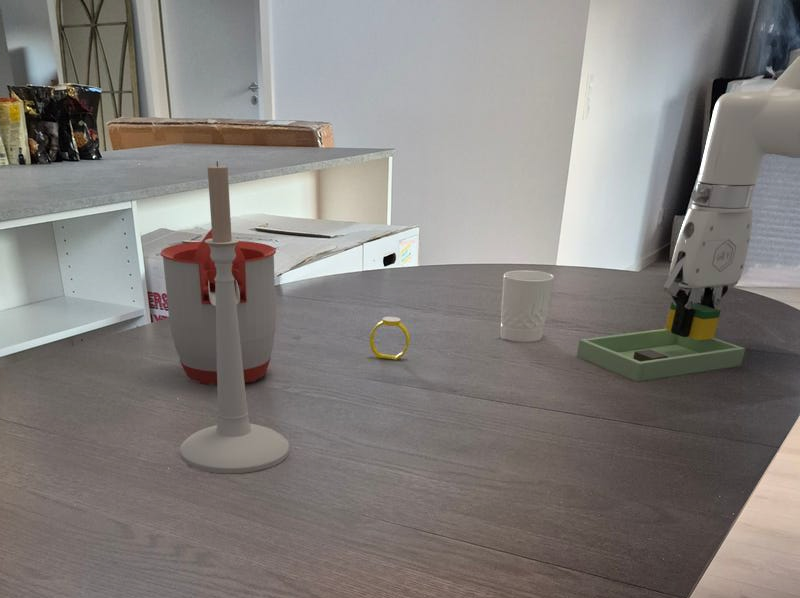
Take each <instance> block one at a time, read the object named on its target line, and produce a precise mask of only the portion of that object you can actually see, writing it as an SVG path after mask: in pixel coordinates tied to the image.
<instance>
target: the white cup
mask: <svg viewBox="0 0 800 598" xmlns="http://www.w3.org/2000/svg"><path fill="white" fill-rule="evenodd" d="M554 280H555V275H554V274H552V273H549V272H545V271H541V270H527V269H525V270H522V269H521V270H510V271H506V272H505V273H503V278H502V290H501V292H502V293H501V304H500V305H501V307H500V334H499V339H500V340H507V341H511V342H519V343H532V342H537V341H540V340H541V339H543V333H544V328H545V324H546V321H547V316H548V312H549V308H550V307H549V306H550V301H551V296H552V290H553V287H554V286H553V285H554Z"/></svg>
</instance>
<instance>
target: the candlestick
mask: <svg viewBox="0 0 800 598" xmlns="http://www.w3.org/2000/svg"><path fill="white" fill-rule="evenodd" d="M218 163H219V162H218V160H217V161H216V165H209V166H207V180H208V195H209V196H208V197H209V208H210V211H209V212H210V224H211V225H210V226H211V229H212V239H207V240H205V243H207V244H208V245H209V247H210V249H211V254H210V258H211V259H212V260H213V261H214V262H215V267H216V271H217V274H216V277H215V279H214V280H215V292H216V341H217V384H216V386H217V387H216V388H217V413H216V415H217V422H216V424H215V425H211V426H208V427H205V428H202V429H200V430H197V431H196V432H194V433H193V434H191V435H189V436H188V437H187V438H186V439H185V440H184V441H183V442H182V444H181V445H180V448H179V455H180V459H181V460H182V461H183V462H184V464H186V465H187V466H190V467H192V468H193V469H196V470H200V471H202V472H209V473H215V474H216V473H217V474H246V473H253V472H258V471H262V470H267V469H270V468H272V467H275V466H277V465H278V464H280V463H282V462H284V460H286V459H287V458H288V456H289V455H290V443H289V441H288V440H287V438H285V437H284V436H283V435H282V434H280V433H279V432H278V431H276V430H275V429H272V428H269V427H267V426H264V425H260V424H255V423H250V420H249V410H248V402H247V394H246V382H245V383H244V373H243V364H242V354H241V344H240V335H239V325H238V315H237V306H236V296H235V286H234V280H235V279H234V277H233V275H232V272H231V269H232V265H233V264H232V261H233V260H234V259H235V258H236V254H235V246H236V245H237V243H238V242H239V241H241V240H240V239H238V238H234V237H232V221H231V220H232V219H231V204H230V186H229V185H230V184H229V168H228V166H227V165H219V164H218Z"/></svg>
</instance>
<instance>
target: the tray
mask: <svg viewBox="0 0 800 598" xmlns="http://www.w3.org/2000/svg"><path fill="white" fill-rule="evenodd" d="M577 346H578V347H577V353H576V357H577V358H579V359H582V360H584V361H586V362H588V363H591V364H593V365H595V366H598V367H601V368H603V369H605V370H608V371H610V372H612V373H614V374H616V375H619V376H621V377H624V378H625V379H629V380H632V381H634V382H636V383H638V382H644V381H651V380H657V379H664V378H670V377H676V376H682V375H689V374H696V373H697V374H698V373H702V372H709V371H715V370H721V369H729V368H734V367H735V368H736V367H741V366H742V362H743V360H744V356H745V352H746V347H743V346H741V345H737V344H734V343H730V342H728V341H725V340H721V339H719V338H715V337H714V338H713V339H706V340H696V339H693V338H690V337H682V336H679V335H676V334H673V333H671V331H669V330H667V329H665V328H660V329H651V330H643V331H636V332H629V333H622V334H621V333H620V334H613V335H605V336H597V337H589V338H583V339H579V341H578V345H577ZM643 350H653V351H655V352H658V353H661V354H664V355H666V356H668V358H662V359H655V360H648V361H642V362H640V361H637V360H635V359H633V357H634V353H635V352H636V351H643Z"/></svg>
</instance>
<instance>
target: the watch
mask: <svg viewBox="0 0 800 598" xmlns="http://www.w3.org/2000/svg"><path fill="white" fill-rule="evenodd" d="M401 321H402V320H401V318H400V317H396V316H384V317H382V319H381V321H379V322H378V323H377V324H376V325H375V327H374V328H373V329H372V330H371V332H370V335H369V336H370V337H369V347H370V349H371V352H372V353H373V355H375V356H376V358H378V359H386V360H393V361H397V360H399V359H400V358H402V357H403V356H404V355H405V354H406V352H407V350H408V348H409V347H410V333H409V331H408V328H407V327H406V325H404V324H403V322H401ZM382 326H389V327H398V328H399V329H400V330H401V331H402V333H403V335H404V337H405V347H404V348H403V350H402V351H401V352H400V353H398V354H397V355H395V354H394V355H393V354H386V353H381V352H380V351H379V349H378V348H376V345H375V342H374V337H375V333H376V331H377V329H378V328H380V327H382Z"/></svg>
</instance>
